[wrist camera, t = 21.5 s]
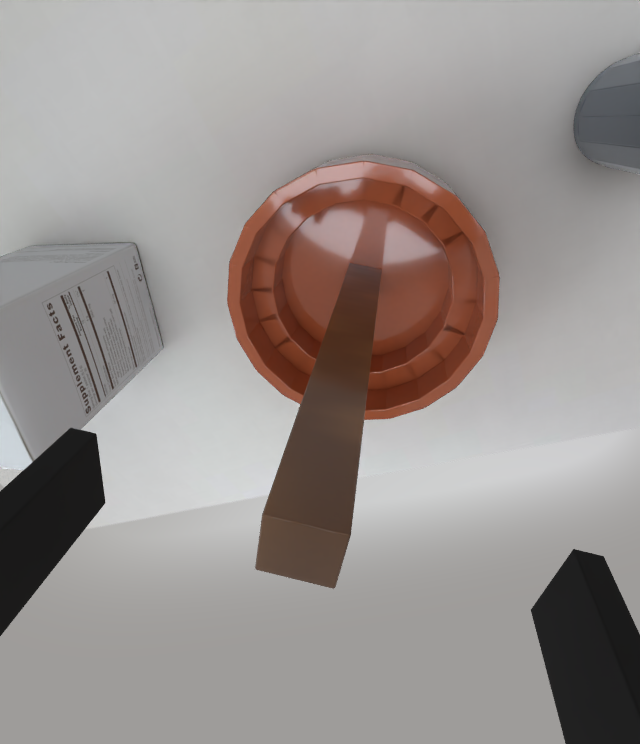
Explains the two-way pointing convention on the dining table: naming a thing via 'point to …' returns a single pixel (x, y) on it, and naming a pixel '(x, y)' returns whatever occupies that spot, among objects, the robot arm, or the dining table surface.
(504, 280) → the dining table surface
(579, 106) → the gray pipe section
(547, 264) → the dining table surface
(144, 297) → the rectangular carton
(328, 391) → the stirring stick
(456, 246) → the bowl
